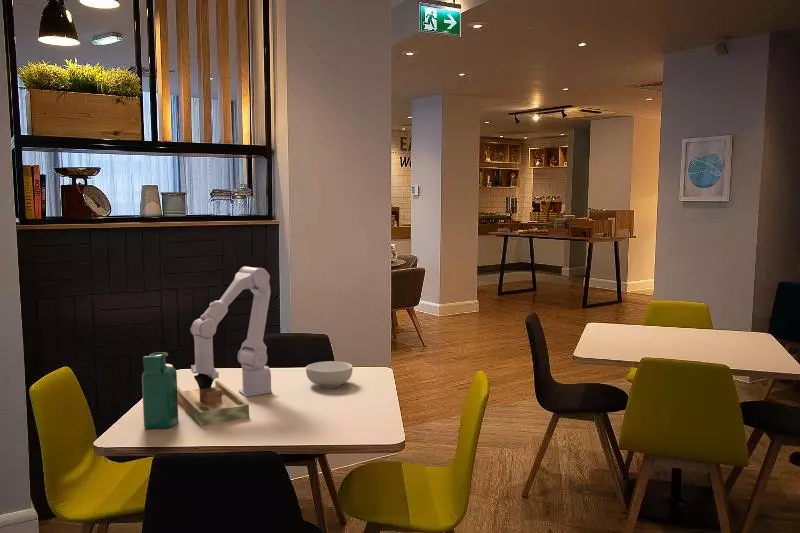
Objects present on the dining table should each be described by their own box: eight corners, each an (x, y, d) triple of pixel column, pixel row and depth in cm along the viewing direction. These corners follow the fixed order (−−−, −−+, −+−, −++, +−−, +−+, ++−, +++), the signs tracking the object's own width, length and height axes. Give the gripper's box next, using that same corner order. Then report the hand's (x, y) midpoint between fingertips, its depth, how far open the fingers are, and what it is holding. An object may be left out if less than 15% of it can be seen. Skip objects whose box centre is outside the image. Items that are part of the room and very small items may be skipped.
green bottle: (153, 419, 204) (150, 349, 202) (180, 419, 204) (177, 349, 202) (139, 430, 194) (136, 357, 192) (168, 430, 194) (165, 357, 192)
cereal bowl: (361, 382, 245) (361, 364, 244) (333, 394, 231) (333, 374, 230) (325, 376, 254) (325, 358, 253) (296, 386, 240) (296, 367, 239)
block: (199, 401, 215) (199, 389, 215) (213, 398, 219) (213, 386, 219) (207, 405, 212) (207, 392, 212) (221, 401, 215) (221, 389, 215)
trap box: (218, 391, 234) (218, 380, 234) (249, 417, 206) (248, 404, 206) (174, 398, 226) (174, 386, 226) (200, 425, 198) (200, 412, 198)
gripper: (181, 354, 219) (183, 394, 221) (204, 361, 209) (205, 403, 210) (201, 350, 224) (202, 389, 225) (224, 357, 214) (225, 398, 215)
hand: (205, 396), depth 218 cm, fingers closed
